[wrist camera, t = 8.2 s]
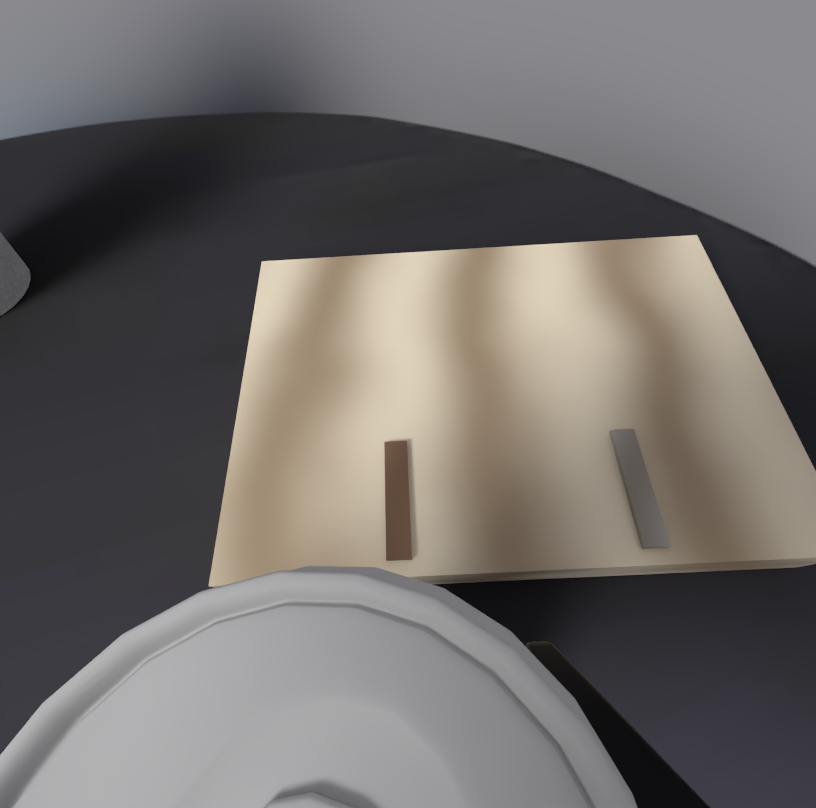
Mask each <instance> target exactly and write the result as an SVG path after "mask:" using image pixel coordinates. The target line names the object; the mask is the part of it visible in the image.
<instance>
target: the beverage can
mask: <svg viewBox="0 0 816 808" xmlns="http://www.w3.org/2000/svg"><path fill="white" fill-rule="evenodd" d="M0 808H638V807H637V805H636V802H635V799H634V797H633V794H632V792H631V791H630V789H629V787H628V786H627V784H626V782H625V781H624V779H623V777H622V776H621V774H620V772H619V771H618V769H617V767H616V766H615V764H614V762H613V761H612V759H611V757H610V756H609V754H608V752H607V751H606V749H605V748H604V746H603V744H602V743H601V741H600V739H599V738H598V736H597V734H596V733H595V731H594V729H593V728H592V726H591V724H590V723H589V721H588V719H587V718H586V716H585V714H584V713H583V711H582V709H581V708H580V706H579V704H578V703H577V701H576V700H575V698H574V697H573V696H572V695H571V694H570V693H569V692H568V691H567V690H566V689H565V688H564V687H563V685H562V684H561V683H560V682H559V681H558V680H557V679H556V678H555V677H554V676H553V675H552V674H551V673H550V672H549V671H548V670H547V669H546V668H545V667H544V666H543V664H542V663H541V662H540V661H539V660H538V659H537V658H536V657H535V656H534V655H533V654H532V653H531V652H530V651H529V650H528V649H527V648H526V647H525V646H524V644H523V643H522V642H521V641H520V640H519V639H518V638H517V637H516V636H515V635H514V634H513V633H512V632H511V631H510V630H508V629H507V628H505V627H504V626H502V625H500V624H499V623H497V622H496V621H494V620H493V619H491V618H490V617H488V616H486V615H485V614H483V613H482V612H480V611H479V610H477V609H476V608H474V607H472V606H471V605H469V604H468V603H466V602H465V601H463V600H462V599H460V598H458V597H457V596H455V595H454V594H452V593H451V592H449V591H448V590H446V589H444V588H442V587H438V586H435V585H432V584H429V583H425V582H422V581H419V580H416V579H412V578H409V577H406V576H403V575H399V574H396V573H393V572H389V571H386V570H383V569H380V568H376V567H335V566H305V567H301V568H298V569H294V570H290V571H286V570H280V571H276V572H272V573H269V574H265V575H261V576H257V577H253V578H250V579H246V580H242V581H238V582H234V583H231V584H227V585H223V586H219V587H215V588H212V589H208V590H204V591H201V592H199V593H197V594H195V595H193V596H192V597H190V598H188V599H186V600H184V601H182V602H181V603H179V604H177V605H175V606H173V607H171V608H170V609H168V610H166V611H164V612H162V613H160V614H159V615H157V616H155V617H153V618H151V619H149V620H148V621H146V622H144V623H142V624H140V625H138V626H137V627H135V628H133V629H131V630H129V631H127V632H126V633H124V634H122V635H121V636H120V637H119V638H118V639H116V640H115V641H114V642H113V643H112V644H111V645H109V646H108V647H107V648H106V649H105V650H104V651H102V652H101V653H100V654H99V655H98V656H97V657H96V658H94V659H93V660H92V661H91V662H90V663H89V664H87V665H86V666H85V667H84V668H83V669H82V670H80V671H79V672H78V673H77V674H76V675H75V676H74V677H72V678H71V679H70V680H69V681H68V682H67V683H65V684H64V685H63V686H62V687H61V688H60V689H58V690H57V691H56V692H55V693H54V694H53V695H52V696H50V697H49V698H48V699H47V700H46V701H45V702H43V703H42V705H41V706H40V707H39V708H38V709H37V711H36V712H35V713H34V714H33V716H32V717H31V718H30V719H29V720H28V722H27V723H26V724H25V725H24V727H23V728H22V729H21V730H20V732H19V733H18V734H17V735H16V736H15V738H14V739H13V740H12V741H11V743H10V744H9V745H8V746H7V747H6V749H5V750H4V751H3V752H2V754H1V755H0Z"/></svg>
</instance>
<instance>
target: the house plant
mask: <svg viewBox="0 0 816 808" xmlns="http://www.w3.org/2000/svg"><path fill="white" fill-rule="evenodd" d="M30 279H31V276H30V270H29V269H28V267H27V266H26V264H25V263H24V262H23V260H22V259H21V258H20V257H19V255H18V254H17V253H16V252H15V250H14V249H13V248H12V247H11V245H10V244H9V243H8V242H7V240H6V239H5V238H4V236H3V235H2V234H1V233H0V316H1V315H3V314H4V313H6V312H7V311H8V310H10V309H11V308H12V307H14V306H15V305H16V304H17V302H18V301H19V300H20V299H21V298H22V297H23V296H24V294H25V292H26V290H27V289H28V287H29V283H30Z"/></svg>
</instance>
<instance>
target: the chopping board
mask: <svg viewBox="0 0 816 808" xmlns="http://www.w3.org/2000/svg"><path fill="white" fill-rule="evenodd" d="M812 564H816V471H815V469H814V467H813V465H812V463H811V461H810V459H809V457H808V455H807V453H806V451H805V449H804V447H803V445H802V443H801V441H800V439H799V437H798V435H797V433H796V431H795V429H794V427H793V425H792V423H791V421H790V419H789V417H788V415H787V413H786V411H785V409H784V407H783V405H782V403H781V401H780V399H779V397H778V395H777V393H776V391H775V389H774V387H773V385H772V383H771V381H770V379H769V377H768V375H767V373H766V371H765V369H764V367H763V365H762V363H761V361H760V359H759V357H758V355H757V353H756V351H755V349H754V348H753V346H752V344H751V342H750V340H749V338H748V336H747V334H746V332H745V330H744V328H743V326H742V324H741V322H740V320H739V318H738V316H737V314H736V312H735V310H734V308H733V306H732V304H731V302H730V300H729V298H728V296H727V294H726V292H725V290H724V288H723V286H722V284H721V282H720V280H719V278H718V276H717V274H716V272H715V270H714V268H713V266H712V264H711V262H710V260H709V258H708V256H707V254H706V252H705V250H704V248H703V246H702V244H701V242H700V240H699V238H698V236H697V235H689V236H672V237H656V238H640V239H623V240H607V241H590V242H574V243H557V244H541V245H525V246H508V247H492V248H475V249H459V250H442V251H426V252H409V253H393V254H377V255H360V256H344V257H327V258H311V259H294V260H278V261H262V264H261V270H260V276H259V282H258V288H257V294H256V300H255V306H254V312H253V319H252V325H251V331H250V337H249V343H248V349H247V355H246V361H245V367H244V373H243V380H242V386H241V392H240V398H239V404H238V410H237V416H236V422H235V428H234V434H233V441H232V447H231V453H230V459H229V465H228V471H227V477H226V483H225V489H224V495H223V502H222V508H221V514H220V520H219V526H218V532H217V538H216V544H215V550H214V556H213V563H212V569H211V575H210V581H209V586H210V587H214V588H215V587H219V586H223V585H227V584H231V583H234V582H238V581H242V580H246V579H250V578H253V577H257V576H261V575H265V574H269V573H272V572H276V571H280V570H286V571H290V570H294V569H298V568H301V567H305V566H335V567H376V568H380V569H383V570H386V571H389V572H393V573H396V574H399V575H403V576H406V577H409V578H412V579H416V580H419V581H422V582H425V583H429V584H448V583H470V582H491V581H513V580H534V579H556V578H577V577H599V576H620V575H642V574H663V573H685V572H706V571H728V570H749V569H771V568H792V567H801V566H807V565H812Z"/></svg>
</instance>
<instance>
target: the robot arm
mask: <svg viewBox="0 0 816 808" xmlns="http://www.w3.org/2000/svg"><path fill="white" fill-rule="evenodd" d="M525 647H526V648H527V649H528V650H529V651H530V652H531V653H532V654H533V655H534V656H535V657H536V658H537V659H538V660H539V661H540V662H541V663H542V664H543V666H544V667H545V668H546V669H547V670H548V671H549V672H550V673H551V674H552V675H553V676H554V677H555V678H556V679H557V680H558V681H559V682H560V683H561V684H562V685H563V687H564V688H565V689H566V690H567V691H568V692H569V693H570V694H571V695H572V696H573V697H574V698H575V700H576V701H577V703H578V704H579V706H580V708H581V709H582V711H583V713H584V714H585V716H586V718H587V719H588V721H589V723H590V724H591V726H592V728H593V729H594V731H595V733H596V734H597V736H598V738H599V739H600V741H601V743H602V744H603V746H604V748H605V749H606V751H607V752H608V754H609V756H610V757H611V759H612V761H613V762H614V764H615V766H616V767H617V769H618V771H619V772H620V774H621V776H622V777H623V779H624V781H625V782H626V784H627V786H628V787H629V789H630V791H631V792H632V794H633V797H634V799H635V802H636V805H637V807H638V808H710V807H709V806H708V805H707V804H706V803H705V802H704V801H703V800H702V799H701V798H700V797H699V796H698V795H697V794H696V793H695V791H694V790H693V789H692V788H691V787H690V786H689V785H688V784H687V783H686V782H685V781H684V780H683V779H682V778H681V777H680V776H679V775H678V774H677V773H676V772H675V771H674V770H673V769H672V768H671V767H670V765H669V764H668V763H667V762H666V761H665V760H664V759H663V758H662V757H661V756H660V755H659V754H658V753H657V752H656V751H655V750H654V749H653V748H652V747H651V746H650V745H649V744H648V743H647V742H646V740H645V739H644V738H643V737H642V736H641V735H640V734H639V733H638V732H637V731H636V730H635V729H634V728H633V727H632V726H631V725H630V724H629V723H628V722H627V721H626V720H625V719H624V718H623V717H622V716H621V714H620V713H619V712H618V711H617V710H616V709H615V708H614V707H613V706H612V705H611V704H610V703H609V702H608V701H607V700H606V699H605V698H604V697H603V696H602V695H601V694H600V693H599V692H598V691H597V689H596V688H595V687H594V686H593V685H592V684H591V683H590V682H589V681H588V680H587V679H586V678H585V677H584V676H583V675H582V674H581V673H580V672H579V671H578V670H577V669H576V668H575V667H574V666H573V665H572V663H571V662H570V661H569V660H568V659H567V658H566V657H565V656H564V655H563V654H562V653H561V652H560V651H559V650H558V649H557V648H556V647H555V646H554V645H553V644H552V643H551V642H548V641H536V642H528V643H526V645H525Z"/></svg>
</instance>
